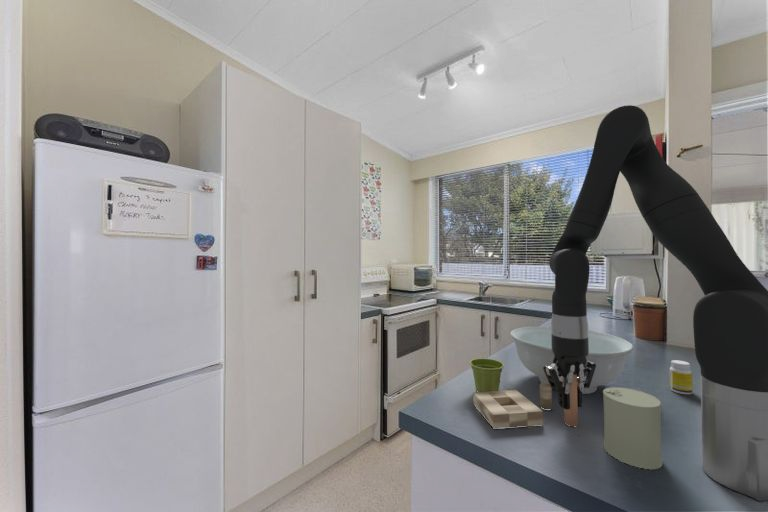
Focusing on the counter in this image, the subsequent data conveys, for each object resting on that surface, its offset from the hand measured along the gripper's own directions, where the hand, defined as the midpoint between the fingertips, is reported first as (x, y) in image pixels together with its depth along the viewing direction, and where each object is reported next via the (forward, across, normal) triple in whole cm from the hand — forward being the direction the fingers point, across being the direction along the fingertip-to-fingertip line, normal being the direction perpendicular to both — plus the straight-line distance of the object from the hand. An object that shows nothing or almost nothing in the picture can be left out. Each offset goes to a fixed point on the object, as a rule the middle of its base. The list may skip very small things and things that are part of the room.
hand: (570, 406), depth 74 cm
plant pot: (+4, -8, +21) cm, 23 cm away
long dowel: (+4, 0, 0) cm, 4 cm away
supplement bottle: (+4, +44, +4) cm, 45 cm away
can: (+4, +2, -12) cm, 13 cm away
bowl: (+4, +19, +19) cm, 27 cm away
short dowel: (+4, 0, +8) cm, 9 cm away
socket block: (+4, -12, +8) cm, 15 cm away
